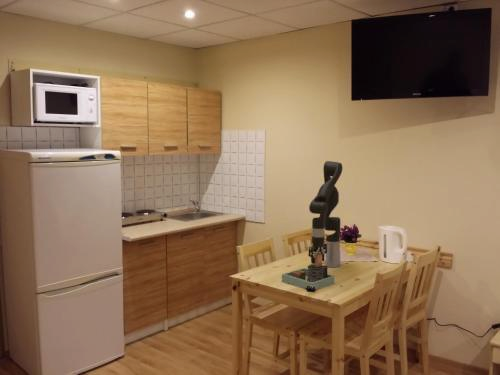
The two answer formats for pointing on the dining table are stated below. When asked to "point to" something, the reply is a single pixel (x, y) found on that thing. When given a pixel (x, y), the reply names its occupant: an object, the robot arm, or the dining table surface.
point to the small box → (317, 272)
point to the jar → (318, 260)
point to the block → (299, 274)
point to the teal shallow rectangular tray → (303, 283)
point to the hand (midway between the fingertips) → (317, 262)
